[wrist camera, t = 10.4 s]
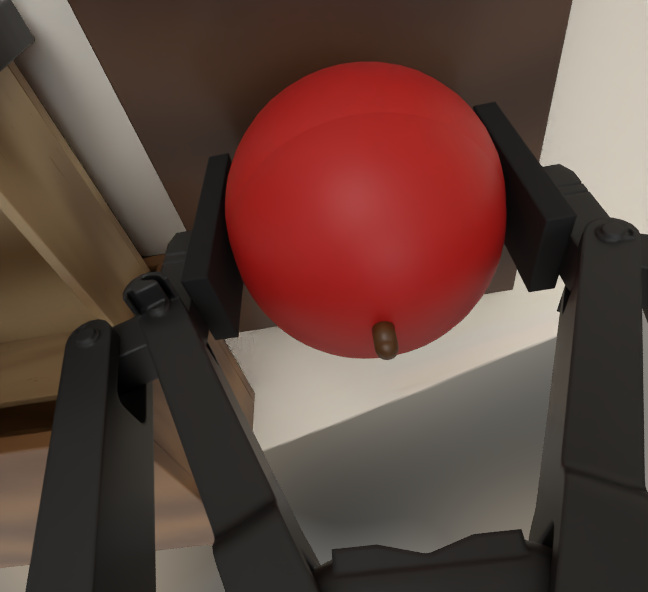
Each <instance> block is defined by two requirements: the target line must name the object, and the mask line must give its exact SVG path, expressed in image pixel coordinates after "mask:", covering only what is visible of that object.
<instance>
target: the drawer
mask: <svg viewBox="0 0 648 592" xmlns="http://www.w3.org/2000/svg"><path fill="white" fill-rule="evenodd" d="M34 41H35V39H34V37H33V35H32V34H31V32H30V30H29V29H28V27H27V25H26V24H25V22H24V20H23V19H22V17H21V15H20V14H19V12H18V10H17V9H16V7H15V5H14V4H13V2H12V0H0V408H4V407H11V406H18V405H25V404H31V403H38V402H45V401H52V400H57V394H58V388H59V381H60V375H61V369H62V363H63V357H64V351H65V345H66V342H67V339H68V337H69V336H70V335H71V334H72V332H73V331H74V330H75V329H77V328H78V327H79V326H80V325H82V324H84V323H86V322H88V321H91V320H96V319H101V320H105V321H107V322H108V323H109V324H110V325H111V326H112V327H113V326H115V325H118V324H120V323H122V322H125V321H127V320H130V319H132V318H134V317H135V315H134V313H133V312H132V311H131V310H130V308H129V307H128V306H127V304H126V303H125V302H124V300H123V292H124V290H125V287H126V286H127V285H128V284H129V283H130V282H131V281H132V280H133V279H135V278H136V277H138V276H139V275H142V274H145V273H147V272H151V271H150V269H149V268H148V266H147V265H146V263H145V262H144V260H143V259H142V257H141V256H140V254H139V253H138V251H137V249H136V248H135V246H134V245H133V243H132V242H131V240H130V239H129V237H128V236H127V234H126V233H125V231H124V230H123V228H122V227H121V225H120V223H119V222H118V220H117V219H116V217H115V216H114V214H113V213H112V211H111V210H110V208H109V207H108V205H107V204H106V202H105V200H104V199H103V197H102V196H101V194H100V193H99V191H98V190H97V188H96V187H95V185H94V184H93V182H92V181H91V179H90V178H89V176H88V174H87V173H86V171H85V170H84V168H83V167H82V165H81V164H80V162H79V161H78V159H77V158H76V156H75V155H74V153H73V151H72V150H71V148H70V147H69V145H68V144H67V142H66V141H65V139H64V138H63V136H62V135H61V133H60V132H59V130H58V129H57V127H56V125H55V124H54V122H53V121H52V119H51V118H50V116H49V115H48V113H47V112H46V110H45V109H44V107H43V106H42V104H41V102H40V101H39V99H38V98H37V96H36V95H35V93H34V92H33V90H32V89H31V87H30V86H29V84H28V83H27V81H26V80H25V78H24V76H23V75H22V73H21V72H20V70H19V69H18V67H17V66H16V64H15V63H14V61H13V60H14V59H15V58H16V57H17V56H19V55H20V54H21V53H22V52H23V51H24V50H25V49H26V48H27V47H28V46H30V45H31V44H32V43H33V42H34Z"/></svg>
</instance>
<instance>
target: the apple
mask: <svg viewBox="0 0 648 592" xmlns="http://www.w3.org/2000/svg"><path fill="white" fill-rule="evenodd" d="M506 219H507V209H506V189H505V180H504V175H503V170H502V166H501V162H500V159H499V155H498V152H497V150H496V148H495V146H494V144H493V141H492V139H491V137H490V135H489V133H488V131H487V129H486V127H485V126H484V124H483V123H482V122H481V120H480V119H479V117H478V116H477V115H476V113H475V112H474V111H473V110H472V109H471V107H470V106H469V105H468V104H467V103H466V102H465V101H464V100H463V99H462V98H461V97H460V96H459V95H458V94H457V93H455V92H454V91H452V90H451V89H450V88H448V87H447V86H445V85H444V84H442V83H441V82H439V81H438V80H436V79H435V78H433V77H431V76H428V75H426V74H424V73H422V72H420V71H418V70H415V69H412V68H408V67H405V66H402V65H397V64H390V63H384V62H351V63H344V64H338V65H335V66H331V67H327V68H324V69H321V70H318V71H316V72H314V73H311V74H309V75H307V76H305V77H303V78H301V79H300V80H298V81H296V82H295V83H293V84H291V85H290V86H288V87H286V88H285V89H284V90H283V91H281V92H280V93H279V94H278V95H276V96H275V97H274V98H273V99H271V100H270V101H269V102H268V104H267V105H266V106H265V107H264V108H263V109H262V110H261V111H260V112H259V113H258V114H257V116H256V117H255V119H254V120H253V122H252V123H251V124H250V126H249V127H248V129H247V130H246V132H245V134H244V135H243V137H242V139H241V141H240V143H239V145H238V147H237V149H236V152H235V155H234V158H233V161H232V164H231V168H230V171H229V174H228V180H227V186H226V194H225V220H226V226H227V231H228V237H229V243H230V246H231V249H232V252H233V255H234V258H235V261H236V264H237V267H238V270H239V272H240V275H241V278H242V280H243V282H244V284H245V286H246V288H247V289H248V291H249V293H250V294H251V296H252V297H253V299H254V301H255V302H256V303H257V305H258V306H259V307H260V309H261V310H262V311H263V312H264V313H265V314H266V315H267V316H268V317H269V318H270V319H271V320H272V321H273V322H274V323H275V324H276V325H277V326H278V327H279V328H280V329H282V330H283V331H285V332H286V333H287V334H289V335H290V336H292V337H293V338H295V339H296V340H298V341H300V342H302V343H304V344H305V345H308V346H310V347H312V348H315V349H317V350H320V351H323V352H326V353H329V354H333V355H337V356H342V357H349V358H363V359H365V358H381V359H384V360H390V359H392V358H394V357H395V356H396V355H398V354H402V353H406V352H409V351H412V350H415V349H418V348H420V347H422V346H425V345H427V344H429V343H431V342H433V341H434V340H436V339H438V338H439V337H441V336H442V335H444V334H445V333H447V332H448V331H449V330H451V329H452V328H453V327H454V326H456V325H457V324H458V323H459V322H461V321H462V320H463V319H464V318H465V317H466V316H467V315H468V314H469V312H470V311H471V310H472V309H473V307H474V306H475V305H476V304H477V302H478V301H479V300H480V299H481V297H482V296H483V294H484V293H485V291H486V289H487V288H488V286H489V284H490V282H491V280H492V278H493V276H494V274H495V271H496V269H497V267H498V264H499V261H500V257H501V253H502V249H503V245H504V241H505V235H506Z"/></svg>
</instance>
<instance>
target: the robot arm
mask: <svg viewBox="0 0 648 592" xmlns="http://www.w3.org/2000/svg"><path fill="white" fill-rule="evenodd" d="M473 111H474V112H475V113H476V115H477V116H478V117H479V119H480V120H481V122H482V123H483V124H484V126H485V127H486V129H487V131H488V133H489V135H490V137H491V139H492V141H493V144H494V146H495V148H496V150H497V152H498V155H499V159H500V162H501V166H502V170H503V175H504V180H505V189H506V209H507V219H506V235H505V241H504V244H505V246H506V248H507V250H508V252H509V254H510V256H511V258H512V260H513V262H514V264H515V266H516V268H517V270H518V272H519V274H520V276H521V278H522V280H523V282H524V284H525V286H526V288H527V290H528V292H533V291H539V290H546V289H552V288H555V286H556V283H557V279H558V276H559V275H560V276H561V278H562V280H563V282H564V283H565V288H564V291H563V294H562V297H561V300H560V303H559V306H558V309H557V311H558V312H560V316H559V325H558V333H557V341H556V349H555V357H554V365H553V373H552V381H551V389H550V390H551V391H550V397H549V406H548V414H547V422H546V430H545V438H544V447H543V454H542V462H541V471H540V478H539V487H538V495H537V502H536V509H535V514H534V517H533V521H532V525H531V530H530V535H529V541H527V540H525V539H524V536H523V533H522V530H521V529H518V530H509V531H499V532H490V533H481V534H473V535H471V536H468V537H466V538H464V539H461V540H459V541H457V542H454V543H452V544H450V545H447V546H445V547H443V548H441V549H438V550H436V551H433V552H431V553H419V552H414V551H408V550H403V549H398V548H392V547H386V546H381V545H369V546H359V547H351V548H341V549H332V560H330V561H328V562H326V563H324V564H322V565H320V563H319V561H318V559H317V557H316V555H315V553H314V552H313V550H312V548H311V546H310V544H309V543H308V541H307V539H306V537H305V536H304V534H303V532H302V530H301V528H300V526H299V524H298V522H297V520H296V518H295V516H294V514H293V512H292V510H291V508H290V506H289V504H288V502H287V500H286V498H285V496H284V494H283V492H282V490H281V487H280V486H279V484H278V481H277V480H276V477H275V475H274V473H273V471H272V469H271V467H270V465H269V463H268V461H267V459H266V457H265V455H264V453H263V451H262V449H261V447H260V445H259V443H258V441H257V439H256V437H255V435H254V433H253V431H252V429H251V427H250V425H249V423H248V421H247V419H246V417H245V415H244V413H243V411H242V409H241V407H240V405H239V403H238V401H237V399H236V396H235V394H234V392H233V390H232V388H231V386H230V384H229V382H228V380H227V378H226V376H225V374H224V372H223V370H222V368H221V366H220V364H219V362H218V360H217V358H216V356H215V354H214V352H213V350H212V348H211V346H210V345H209V343H208V342H207V341H208V334H209V330H210V332H211V334H212V336H213V337H214V339H215V340H221V339H227V338H234V337H238V335H239V324H240V314H241V303H242V292H243V280H242V278H241V275H240V272H239V270H238V267H237V264H236V261H235V258H234V255H233V252H232V249H231V246H230V243H229V237H228V231H227V226H226V220H225V194H226V186H227V180H228V174H229V171H230V168H231V164H232V161H231V158H230V155H229V153H226V154H221V155H216V156H211V157H209V159H208V164H207V168H206V173H205V177H204V181H203V186H202V190H201V194H200V199H199V203H198V207H197V212H196V216H195V221H194V225H193V229H192V230H191V231H186V232H180V233H176V234H175V236H174V237H173V238H172V240H171V241H170V242H169V243H168V246H167V250H166V253H165V257H164V260H163V266H162V268H161V271H160V272H158V271H155V272H147V273H145V274H142V275H139V276H138V277H136V278H135V279H133V280H132V281H131V282H130V283H129V284H128V285H127V286H126V287H125V290H124V292H123V300H124V302H125V303H126V304H127V306H128V307H129V308H130V310H131V311H132V312H133V313H134V315H135V317H134V318H132V319H130V320H127V321H125V322H122V323H120V324H118V325H115V326H113V327H112V326H111V325H110V324H109V323H108V322H107V321H105V320H101V319H96V320H91V321H88V322H86V323H84V324H82V325H80V326H79V327H78V328H77V329H75V330H74V331H73V332H72V334H71V335H70V336H69V337H68V339H67V342H66V345H65V351H64V357H63V363H62V369H61V375H60V381H59V388H58V394H57V400H56V406H55V412H54V419H53V425H52V431H51V437H50V443H49V449H48V456H47V462H46V468H45V474H44V480H43V487H42V493H41V499H40V505H39V511H38V517H37V524H36V530H35V536H34V542H33V548H32V555H31V561H30V567H29V573H28V579H27V586H26V592H156V576H155V575H156V571H155V570H156V569H155V498H154V428H153V380H156V379H158V378H159V381H160V384H161V387H162V390H163V393H164V395H165V398H166V401H167V404H168V407H169V409H170V412H171V415H172V418H173V421H174V424H175V426H176V429H177V432H178V435H179V438H180V440H181V443H182V446H183V449H184V452H185V455H186V457H187V460H188V463H189V466H190V469H191V472H192V474H193V477H194V480H195V483H196V486H197V488H198V491H199V494H200V497H201V500H202V503H203V505H204V508H205V511H206V514H207V517H208V519H209V522H210V525H211V528H212V531H213V534H214V543H213V546H212V547H213V554H214V558H215V562H216V565H217V568H218V571H219V574H220V577H221V580H222V583H223V586H224V589H225V592H648V492H647V490H646V487H645V470H644V469H645V466H644V403H643V343H642V341H643V340H642V309H643V311H644V314H645V317H646V319H647V322H648V235H647V234H640V233H639V230H638V229H637V228H636V227H634V226H633V225H632V224H630V223H628V222H626V221H624V220H620V219H616V218H610V217H609V216H608V214H607V213H606V212H605V211H604V209H603V208H602V207H601V206H600V204H599V203H598V202H597V201H596V199H595V198H594V197H593V196H592V194H591V193H590V192H588V189H587V188H586V187H585V186H584V184H581V181H580V179H579V178H578V177H577V176H576V174H575V173H574V172H573V171H571V170H570V169H568V168H566V167H564V166H562V165H561V164H557V165H551V166H545V167H542V166H541V165H540V163H539V162H538V160H537V159H536V158H535V156H534V155H533V153H532V152H531V151H530V149H529V148H528V146H527V145H526V144H525V142H524V141H523V139H522V138H521V137H520V135H519V134H518V132H517V131H516V130H515V128H514V127H513V126H512V124H511V123H510V121H509V120H508V119H507V117H506V116H505V114H504V113H503V112H502V110H501V109H500V107H499V106H498V105H497V103H496V102H491V103H486V104H480V105H475V106H473Z"/></svg>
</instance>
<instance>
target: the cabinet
mask: <svg viewBox="0 0 648 592" xmlns="http://www.w3.org/2000/svg"><path fill="white" fill-rule="evenodd" d="M164 257H165V254H162V255H156V256H150V257H145V258H142V259H143V260H144V262H145V263H146V265H147V266H148V268H149V269H150V271H151V272H155V271H158V272H160V271H161V268H162V266H163V260H164ZM207 342H208V343H209V345H210V346H211V348H212V350H213V352H214V354H215V356H216V358H217V360H218V362H219V364H220V366H221V368H222V370H223V372H224V374H225V376H226V378H227V380H228V382H229V384H230V386H231V388H232V390H233V392H234V394H235V396H236V399H237V401H238V403H239V405H240V407H241V409H242V411H243V413H244V415H245V417H246V419H247V421H248V423H249V425H250V427H251V429H252V431H253V416H254V398H255V393H254V392H253V390H252V388H251V386H250V385H249V383H248V381H247V379H246V378H245V376H244V374H243V372H242V371H241V369H240V367H239V365H238V364H237V362H236V360H235V358H234V357H233V355H232V353H231V351H230V350H229V348H228V346H227V345H226V343H225V341H224V339H221V340H215V339H214V337H213V336H212V334H211V332H210V330H209V334H208V341H207ZM55 406H56V400H52V401H45V402H38V403H31V404H25V405H18V406H11V407H4V408H0V568H5V567H14V566H23V565H30V561H31V555H32V548H33V542H34V536H35V530H36V524H37V517H38V511H39V505H40V499H41V493H42V487H43V480H44V474H45V468H46V462H47V456H48V449H49V443H50V437H51V431H52V425H53V419H54V412H55ZM153 428H154V498H155V551H156V550H164V549H174V548H183V547H192V546H200V545H210V544H213V543H214V534H213V531H212V528H211V525H210V522H209V519H208V517H207V514H206V511H205V508H204V505H203V503H202V500H201V497H200V494H199V491H198V488H197V486H196V483H195V480H194V477H193V474H192V472H191V469H190V466H189V463H188V460H187V457H186V455H185V452H184V449H183V446H182V443H181V440H180V438H179V435H178V432H177V429H176V426H175V424H174V421H173V418H172V415H171V412H170V409H169V407H168V404H167V401H166V398H165V395H164V393H163V390H162V387H161V384H160V381H159V378H158V379H156V380H153Z"/></svg>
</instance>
